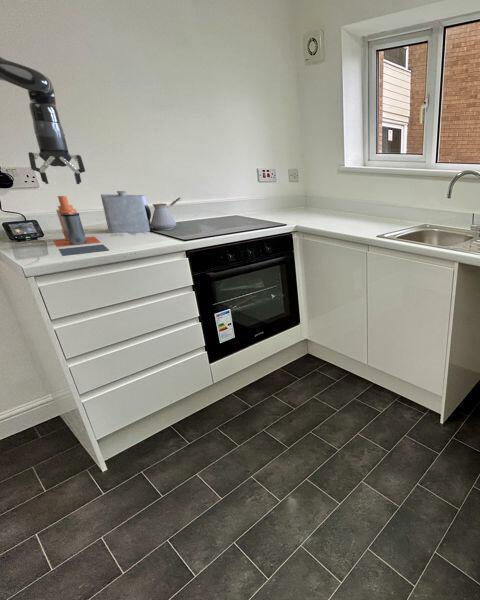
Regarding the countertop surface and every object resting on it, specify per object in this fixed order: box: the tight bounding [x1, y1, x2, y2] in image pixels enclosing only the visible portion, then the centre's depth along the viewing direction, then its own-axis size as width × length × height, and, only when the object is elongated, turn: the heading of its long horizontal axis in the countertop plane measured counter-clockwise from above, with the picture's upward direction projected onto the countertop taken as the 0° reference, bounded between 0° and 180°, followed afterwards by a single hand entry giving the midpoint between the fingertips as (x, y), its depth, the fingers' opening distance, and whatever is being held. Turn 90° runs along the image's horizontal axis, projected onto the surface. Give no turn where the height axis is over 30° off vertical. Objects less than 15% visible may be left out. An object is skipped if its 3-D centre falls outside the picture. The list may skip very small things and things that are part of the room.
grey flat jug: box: [100, 193, 152, 230], centre depth 179 cm, size 19×5×18 cm, turn 105°
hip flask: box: [100, 190, 151, 234], centre depth 171 cm, size 16×4×20 cm, turn 131°
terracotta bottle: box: [55, 195, 78, 241], centre depth 151 cm, size 6×6×19 cm
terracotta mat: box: [53, 236, 102, 248], centre depth 152 cm, size 14×17×1 cm
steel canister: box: [60, 212, 87, 246], centre depth 146 cm, size 6×6×12 cm
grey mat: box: [58, 244, 110, 257], centre depth 140 cm, size 14×12×1 cm
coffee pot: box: [150, 197, 181, 231], centre depth 188 cm, size 21×12×15 cm, turn 172°
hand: (62, 183), depth 129 cm, fingers open, 8 cm apart
